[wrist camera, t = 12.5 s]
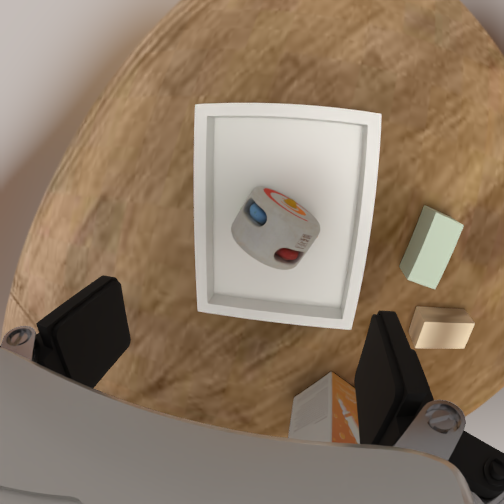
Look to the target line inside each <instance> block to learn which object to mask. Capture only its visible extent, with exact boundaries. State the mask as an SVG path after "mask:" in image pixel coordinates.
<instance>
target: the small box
mask: <svg viewBox="0 0 504 504" xmlns="http://www.w3.org/2000/svg"><path fill="white" fill-rule="evenodd" d="M288 438H292V439H301V440H311V441H322V442H337V443H353V444H360V438H359V424H358V413H357V402H356V392H355V388H354V387H352V386H351V385H350V384H348V383H347V382H346V381H344V380H343V379H341V378H340V377H339V376H337V375H336V374H335V373H333V372H330V373H328V374H327V375H326V376H324V377H323V378H321V379H320V380H319V381H317V382H316V383H314V384H313V385H312V386H310V387H309V388H307V389H306V390H304V391H303V392H301V393H300V394H298V395H297V396H295V397H294V400H293V407H292V414H291V421H290V428H289V435H288Z"/></svg>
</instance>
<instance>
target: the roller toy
mask: <svg viewBox="0 0 504 504" xmlns="http://www.w3.org/2000/svg"><path fill="white" fill-rule="evenodd" d="M231 232H232V236H233V238H234V240H235V241H236V243H237V244H238V245H239V246H240V247H241V248H242V249H243V250H244V251H245V252H246V253H247V254H249V255H250V256H251V257H253V258H254V259H256V260H257V261H259V262H261V263H263V264H265V265H267V266H270V267H272V268H276V269H281V270H289V269H292V268H294V267H296V266H297V265H298V263H299V262H300V261H301V259H302V258H303V257H304V255H305V254H306V252H307V251H308V250H309V248H310V247H311V245H312V244H313V242H314V241H315V239H316V238H317V237H318V235H319V233H320V224H319V222H318V221H317V219H316V218H315V217H314V216H313V215H312V214H311V213H310V212H309V211H308V210H306V209H305V208H304V207H302V206H301V205H300V204H298V203H297V202H295V201H294V200H293V199H291V198H289V197H287V196H286V195H284V194H282V193H280V192H278V191H276V190H273V189H271V188H267V187H262V186H260V187H256V188H254V189H253V190H252V191H251V193H250V194H249V196H248V198H247V199H246V201H245V202H244V204H243V206H242V207H241V208H240V211H239V213H238V214H237V216H236V218H235V220H234V221H233V223H232V226H231Z"/></svg>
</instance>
